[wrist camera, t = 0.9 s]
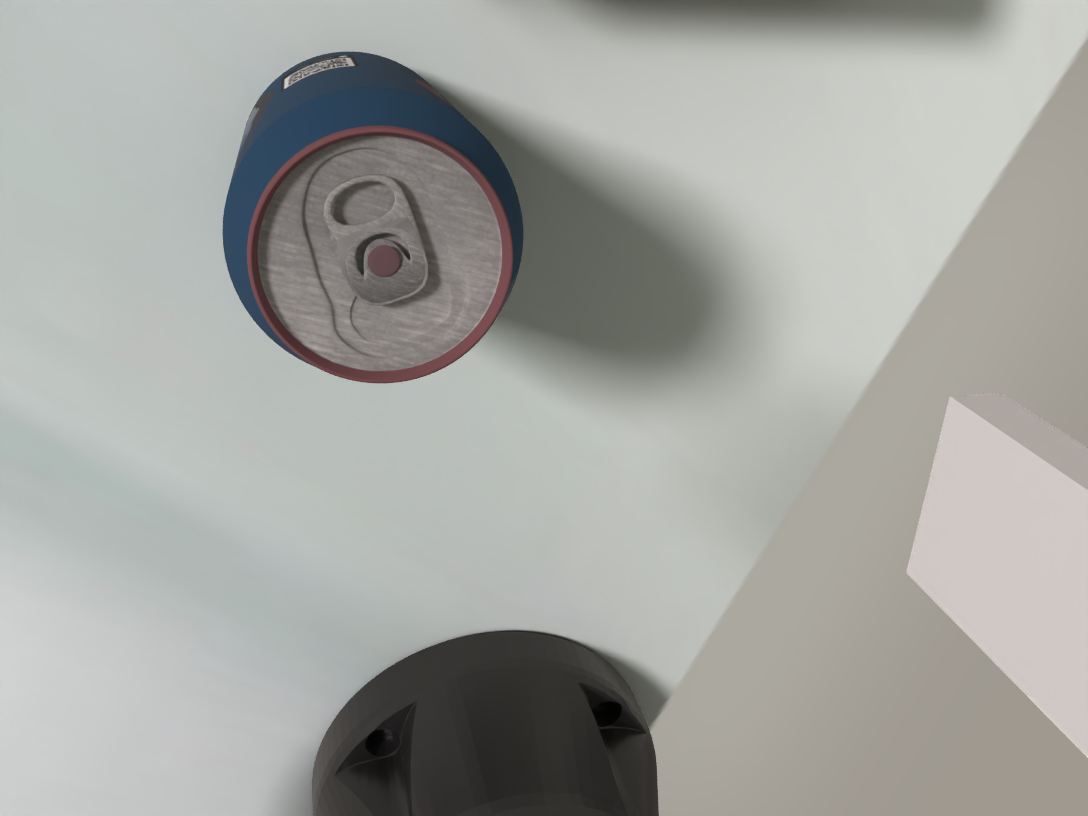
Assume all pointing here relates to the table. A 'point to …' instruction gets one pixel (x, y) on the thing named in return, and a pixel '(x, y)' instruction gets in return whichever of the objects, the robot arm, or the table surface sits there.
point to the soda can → (369, 221)
